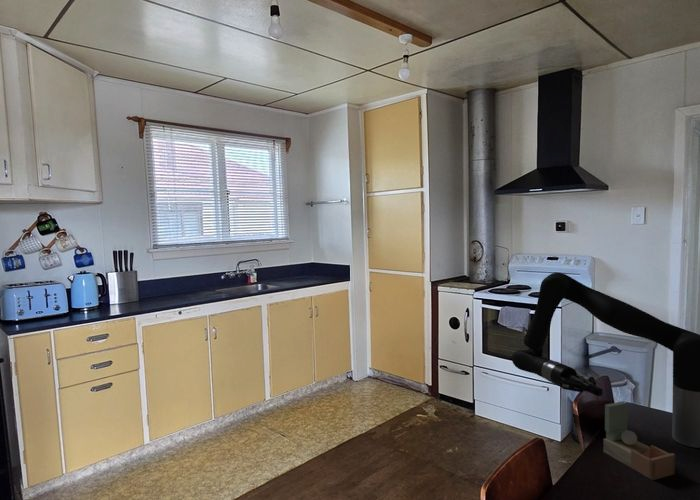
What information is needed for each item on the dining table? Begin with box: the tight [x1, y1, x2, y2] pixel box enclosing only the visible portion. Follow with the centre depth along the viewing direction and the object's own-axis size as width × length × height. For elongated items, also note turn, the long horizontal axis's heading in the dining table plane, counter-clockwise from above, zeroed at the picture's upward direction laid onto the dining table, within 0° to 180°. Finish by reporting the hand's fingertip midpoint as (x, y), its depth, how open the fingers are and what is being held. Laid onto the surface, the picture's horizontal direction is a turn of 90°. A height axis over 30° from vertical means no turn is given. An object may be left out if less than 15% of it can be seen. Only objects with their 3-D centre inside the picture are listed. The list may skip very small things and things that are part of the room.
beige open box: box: [602, 437, 651, 468], centre depth 126 cm, size 8×9×4 cm
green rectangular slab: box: [604, 400, 629, 441], centre depth 129 cm, size 7×2×10 cm, turn 107°
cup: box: [630, 445, 676, 481], centre depth 119 cm, size 8×6×6 cm
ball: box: [621, 429, 638, 445], centre depth 126 cm, size 4×4×4 cm
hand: (600, 392), depth 134 cm, fingers closed
